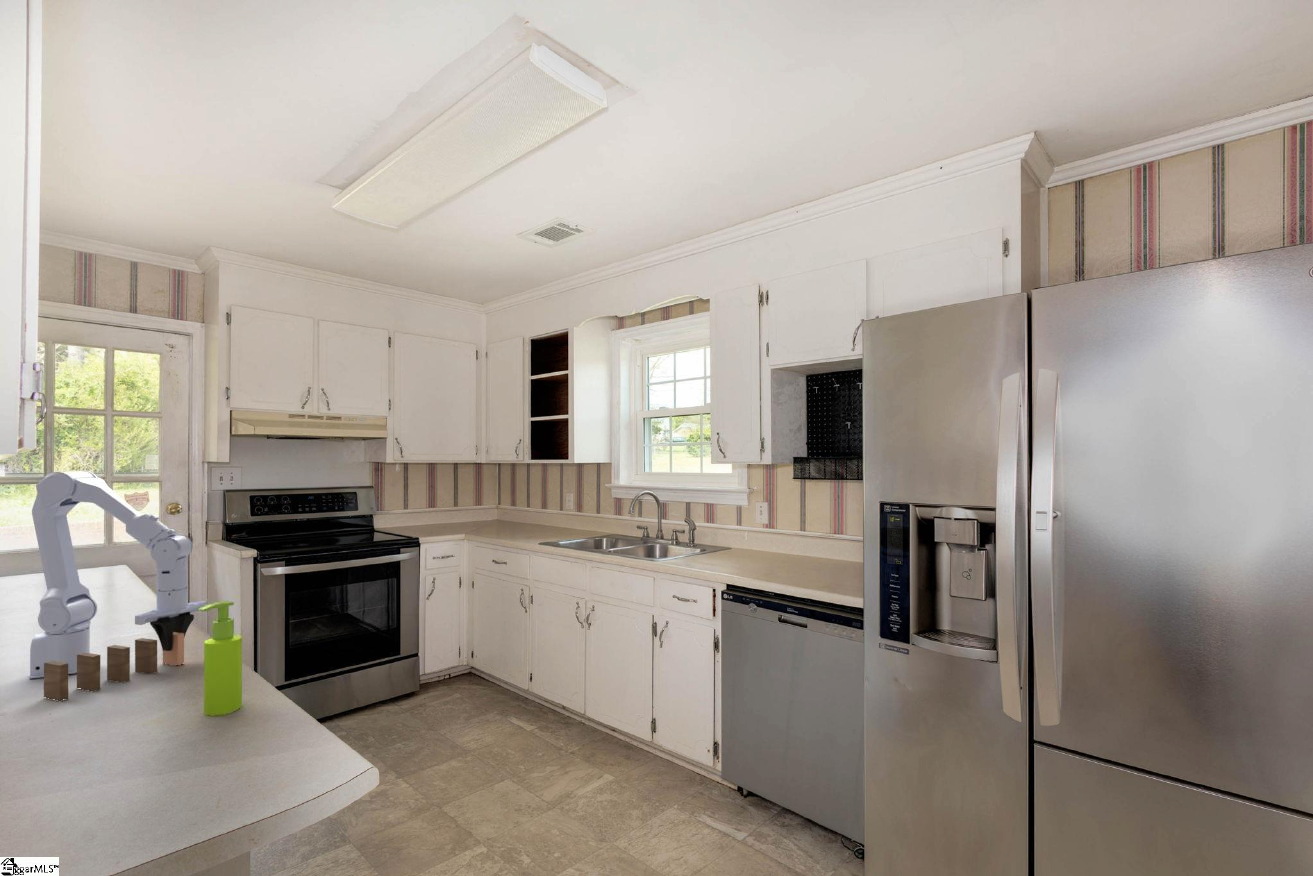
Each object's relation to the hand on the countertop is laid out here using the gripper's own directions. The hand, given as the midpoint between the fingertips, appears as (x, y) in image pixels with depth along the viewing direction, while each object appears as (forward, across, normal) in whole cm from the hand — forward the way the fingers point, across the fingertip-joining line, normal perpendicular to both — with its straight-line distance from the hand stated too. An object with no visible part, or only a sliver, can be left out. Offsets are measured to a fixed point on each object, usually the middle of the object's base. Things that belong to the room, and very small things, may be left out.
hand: (172, 648), depth 150 cm
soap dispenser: (+4, -16, -37) cm, 40 cm away
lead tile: (+3, 0, 0) cm, 3 cm away
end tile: (+3, -22, 0) cm, 22 cm away
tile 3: (+3, -11, 0) cm, 12 cm away
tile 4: (+3, -16, 0) cm, 17 cm away
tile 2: (+3, -6, 0) cm, 6 cm away
